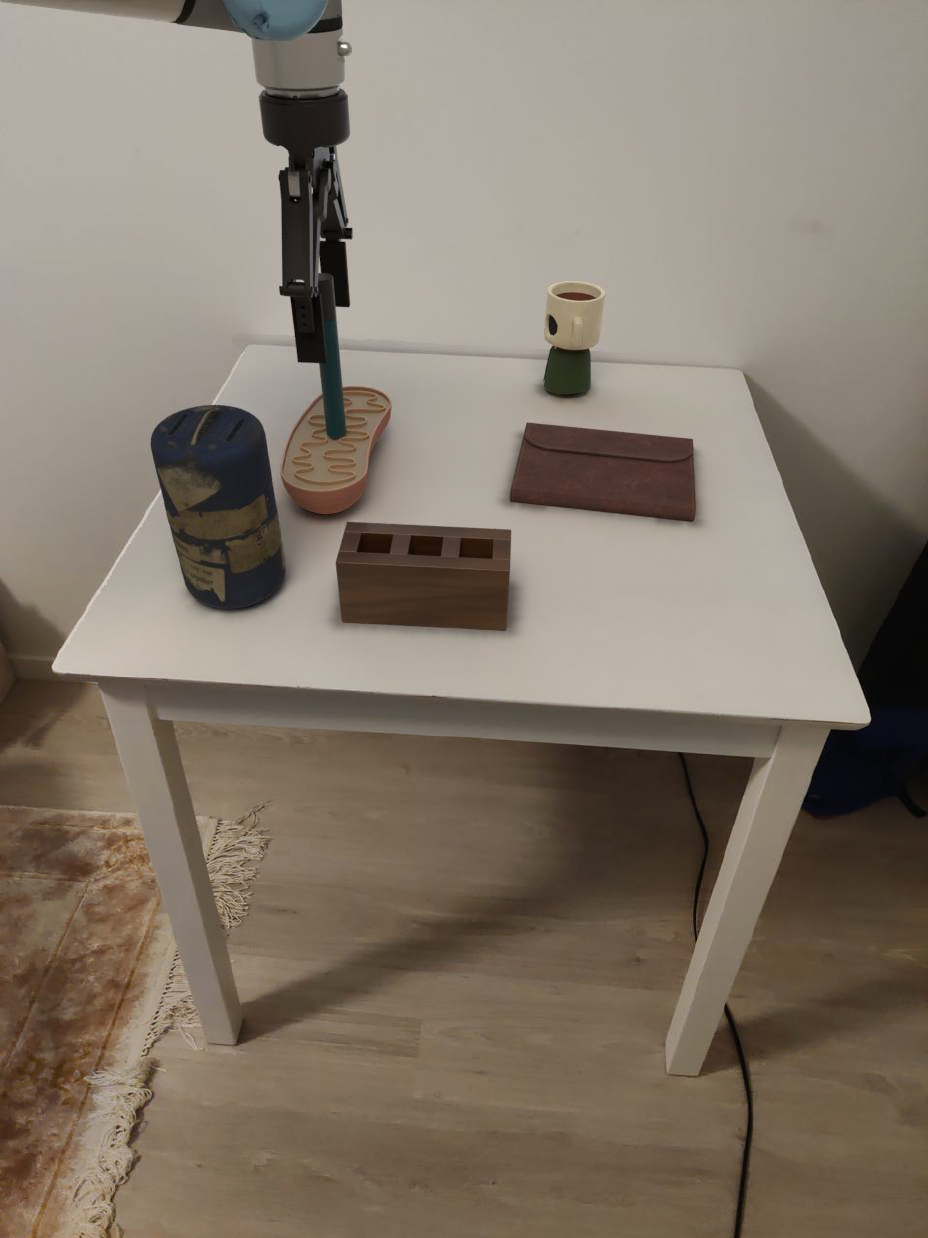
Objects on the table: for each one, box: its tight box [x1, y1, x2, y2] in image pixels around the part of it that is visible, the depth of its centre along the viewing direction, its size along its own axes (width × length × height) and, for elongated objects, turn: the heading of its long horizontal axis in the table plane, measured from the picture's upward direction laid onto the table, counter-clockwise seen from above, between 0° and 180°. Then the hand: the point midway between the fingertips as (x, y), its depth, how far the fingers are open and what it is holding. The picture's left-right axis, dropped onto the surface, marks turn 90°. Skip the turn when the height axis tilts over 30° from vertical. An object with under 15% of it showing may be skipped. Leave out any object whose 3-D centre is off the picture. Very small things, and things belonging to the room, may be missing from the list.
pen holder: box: [335, 521, 512, 632], centre depth 78 cm, size 6×15×7 cm, turn 87°
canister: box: [150, 404, 286, 610], centre depth 76 cm, size 10×10×18 cm
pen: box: [318, 272, 346, 438], centre depth 88 cm, size 2×2×17 cm
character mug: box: [542, 280, 606, 395], centre depth 109 cm, size 11×7×13 cm, turn 0°
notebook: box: [509, 422, 697, 522], centre depth 97 cm, size 15×20×2 cm
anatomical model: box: [279, 385, 392, 515], centre depth 96 cm, size 23×10×5 cm, turn 174°
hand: (325, 332), depth 86 cm, fingers open, 13 cm apart
